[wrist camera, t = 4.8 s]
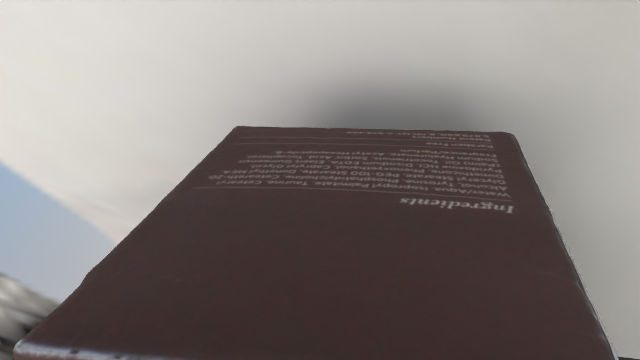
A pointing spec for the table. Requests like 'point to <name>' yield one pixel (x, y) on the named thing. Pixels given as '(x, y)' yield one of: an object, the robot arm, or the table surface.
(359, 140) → the box
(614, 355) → the robot arm
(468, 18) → the table surface
